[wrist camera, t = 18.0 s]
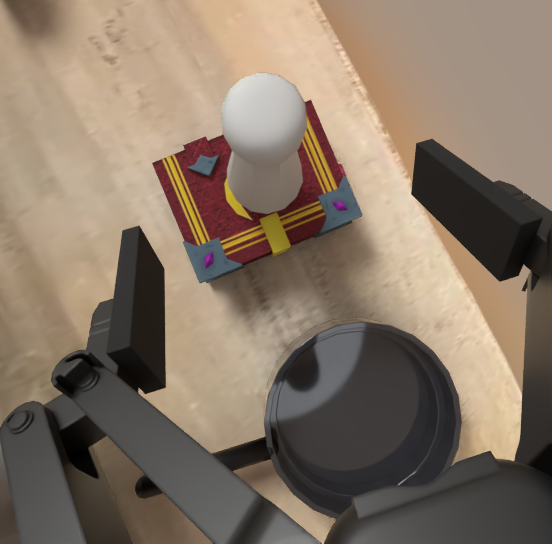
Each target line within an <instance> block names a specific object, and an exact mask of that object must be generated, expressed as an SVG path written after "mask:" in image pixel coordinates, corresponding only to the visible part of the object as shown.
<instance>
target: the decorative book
mask: <svg viewBox="0 0 552 544" xmlns="http://www.w3.org/2000/svg"><path fill="white" fill-rule="evenodd" d="M305 107H306V118H307V129H306V132H305V134H304V137H303V139H302V142H301V144H300V146H299V149H298V150H297V152H298V156H299V159H300V162H301V167H302V177H303V183H302V185H301V187H300V190H299V192H298V195H297V197H296V198H295V199H294V200H293V201H292V202H291V203H290V204H289V205H288V206H287V207H286V208H285V209H283V210H279V211H276V212H272V213H269V214H265V213H258V212H252V211H250V210H249V209H247V208H246V207H244V206H243V205H241V204H240V203H238V202H237V201H236V199H235V197H234V196H233V194H232V192H231V190H230V189H229V187H228V177H227V168H228V164H229V160H230V157H231V153H232V149H231V147H230V146H229V144H228V142H227V141H226V139H225V137H224V135H221V136H219V137H216V138H214V139H211V140H209V141H208V140H207V138H206V137H203V138H201V139H198V140H196V141H193V142H191V143H188V144H186V145H183V146H184V149H185V150H184V151H181V152H179V153H176V154H174V155H171V156H169V157H166V158H164V159H161V160H159V161H156V162H154V163H152V164H153V166H154V169H155V171H156V173H157V176H158V178H159V181H160V183H161V185H162V188H163V190H164V193H165V195H166V197H167V200H168V202H169V205H170V207H171V209H172V212H173V214H174V217H175V219H176V221H177V224H178V226H179V229H180V231H181V233H182V236H183V238H184V242H183V244H184V246H185V249H186V251H187V253H188V256H189V258H190V261H191V263H192V266H193V268H194V271H195V273H196V275H197V278H198V280H199V283H202V282H205V281H206V283H208V282H210V281H213V280H215V279H218V278H220V277H222V276H225V275H227V274H229V273H232V272H234V271H236V270H239V269H241V268H244V265H246V264H249V263H251V262H254V261H256V260H258V259H261V258H263V257H266V256H268V255H270V254H271V255H272V257H274V256H276V255H279V254H281V253H284V252H286V251H288V250H289V248H290V247H291V246H292V245H295V244H297V243H299V242H302V241H304V240H307V239H309V238H311V237H314V238H316V237H318V236H321V235H323V234H325V233H328V232H330V231H333V230H335V229H338V228H340V227H343V226H345V225H347V224H350V223H352V220H354V219H356V218H359V217H361V216H362V213H361V211H360V208H359V206H358V204H357V201H356V199H355V197H354V195H353V192H352V190H351V188H350V185H349V183H348V181H347V178H346V174H345V172H344V170H343V167H342V165H341V164H338V163H337V161H336V158H335V156H334V153H333V151H332V149H331V146H330V144H329V142H328V139H327V137H326V134H325V132H324V130H323V127H322V125H321V123H320V120H319V118H318V116H317V113H316V111H315V108H314V106H313V104H312V101H311V100H309V101H307V102H305Z"/></svg>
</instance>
